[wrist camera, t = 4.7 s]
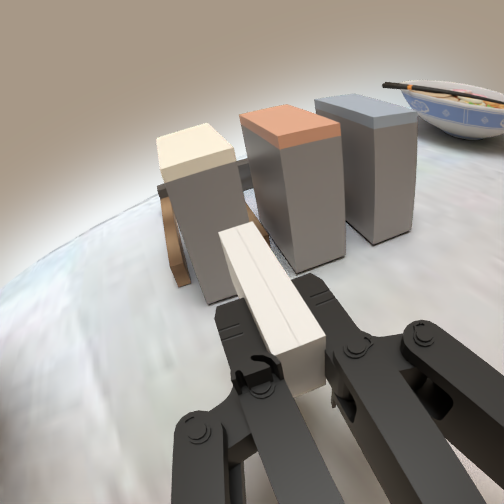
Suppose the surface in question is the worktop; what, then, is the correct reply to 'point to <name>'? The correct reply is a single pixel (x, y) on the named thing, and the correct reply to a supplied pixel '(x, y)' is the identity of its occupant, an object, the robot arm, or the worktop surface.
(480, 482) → the worktop surface
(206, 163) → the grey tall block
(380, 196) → the slate key
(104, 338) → the worktop surface
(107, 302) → the worktop surface
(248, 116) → the terracotta key
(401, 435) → the robot arm
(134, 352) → the worktop surface
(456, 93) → the ramen bowl
